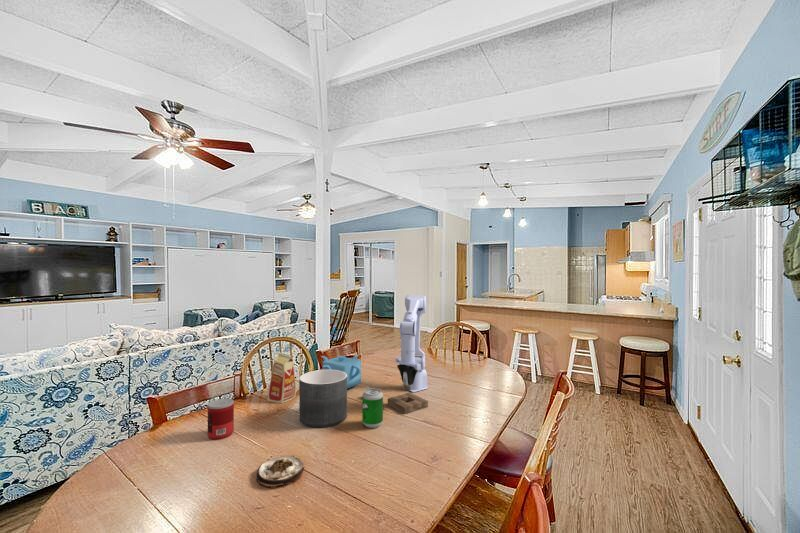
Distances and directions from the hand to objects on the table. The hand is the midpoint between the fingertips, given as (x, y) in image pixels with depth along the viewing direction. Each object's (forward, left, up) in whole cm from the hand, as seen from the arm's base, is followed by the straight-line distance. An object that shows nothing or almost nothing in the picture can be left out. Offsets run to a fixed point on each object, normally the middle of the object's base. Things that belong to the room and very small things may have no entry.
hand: (407, 383), depth 146 cm
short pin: (+8, -16, -9) cm, 20 cm away
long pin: (0, 0, -2) cm, 2 cm away
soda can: (+21, +6, -10) cm, 24 cm away
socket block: (0, 0, -9) cm, 9 cm away
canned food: (+67, -18, -10) cm, 70 cm away
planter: (+33, -10, -10) cm, 36 cm away
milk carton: (+39, -38, -10) cm, 55 cm away
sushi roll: (+58, +17, -10) cm, 61 cm away
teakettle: (+12, -37, -10) cm, 40 cm away
